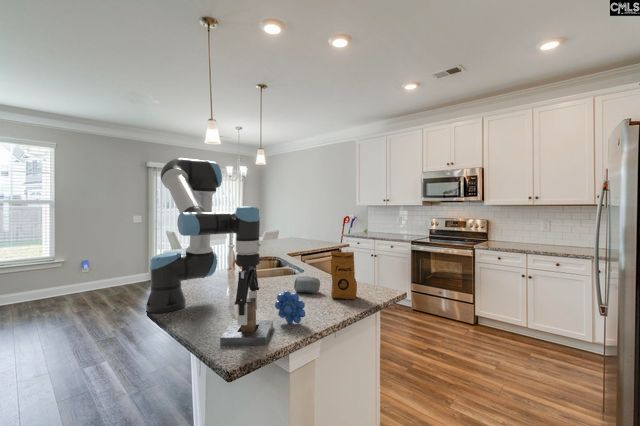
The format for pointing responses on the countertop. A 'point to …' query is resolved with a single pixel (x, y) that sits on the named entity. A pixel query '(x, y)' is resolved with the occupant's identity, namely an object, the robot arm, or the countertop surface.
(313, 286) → the spool
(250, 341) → the gray square hole plate
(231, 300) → the countertop surface
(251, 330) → the wooden block
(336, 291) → the coffee package
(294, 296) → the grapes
